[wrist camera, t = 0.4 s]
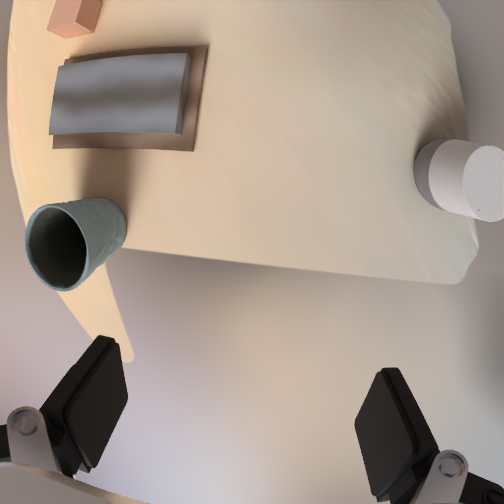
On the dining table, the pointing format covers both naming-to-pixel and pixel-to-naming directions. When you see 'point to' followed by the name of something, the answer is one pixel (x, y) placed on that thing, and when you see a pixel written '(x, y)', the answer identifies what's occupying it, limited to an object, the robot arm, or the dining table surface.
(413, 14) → the dining table surface
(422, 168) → the smart speaker
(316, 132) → the dining table surface
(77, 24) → the terracotta cube
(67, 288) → the grey green cup
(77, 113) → the board
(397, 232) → the dining table surface
